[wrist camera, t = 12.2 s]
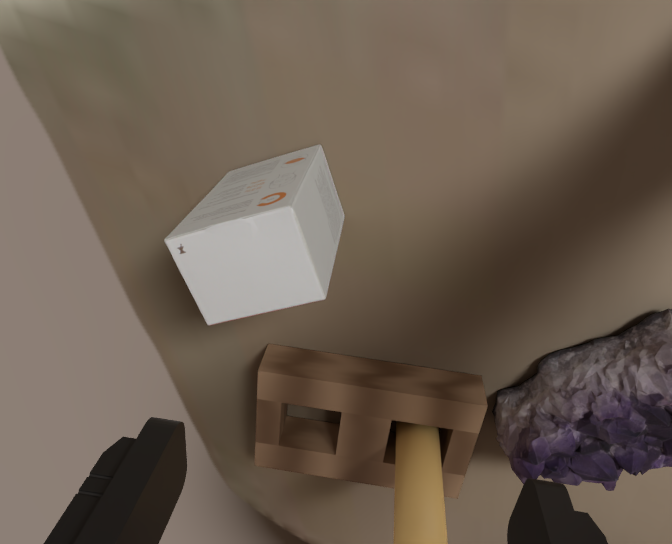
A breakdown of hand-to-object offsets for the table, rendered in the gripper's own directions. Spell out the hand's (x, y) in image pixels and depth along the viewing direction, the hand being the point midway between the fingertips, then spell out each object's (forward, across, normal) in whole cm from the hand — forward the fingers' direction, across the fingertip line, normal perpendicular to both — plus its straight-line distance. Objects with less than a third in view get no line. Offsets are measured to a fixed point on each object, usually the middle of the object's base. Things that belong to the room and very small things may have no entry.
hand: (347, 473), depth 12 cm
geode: (+30, -22, +19) cm, 42 cm away
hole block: (+30, -2, +26) cm, 40 cm away
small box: (+30, +7, +5) cm, 32 cm away
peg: (+30, -7, +26) cm, 40 cm away
